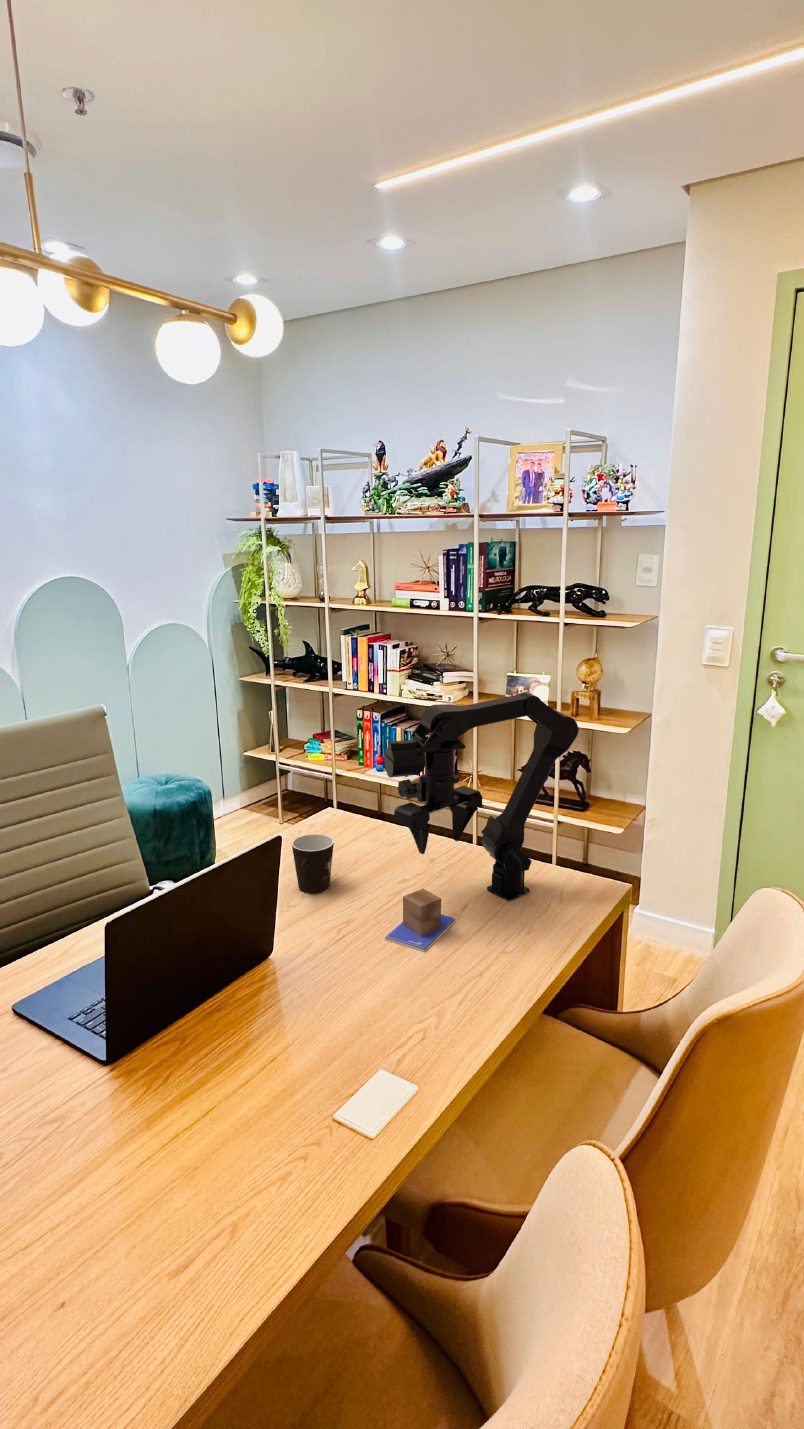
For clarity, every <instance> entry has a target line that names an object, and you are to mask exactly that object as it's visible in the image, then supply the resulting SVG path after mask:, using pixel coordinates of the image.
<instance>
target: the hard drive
mask: <svg viewBox="0 0 804 1429" xmlns="http://www.w3.org/2000/svg"><path fill="white" fill-rule="evenodd" d="M455 922H456V919H455V918H454V917H451V916H448V915H446V914H445V915H444V914H442V913H441V928H439V929H437V930H434V931H432V932H430V933H428V934H425V935H423V936H421V937H420V936H419V935H417V934H415V933H414V932H412V931H411V930H409V929H407V928H406V927H404V926H403V921H402V922H401V923H399V924H398V925H397V926H396V927H395V928H394V929H393V930H392V931H390V932H389V933H388V934H387V935H385V937H384V941H386V942H389V943H393V944H396V945H399V946H402V947H405V948H409V949H411V950H415V951H419V952H422V953H425V952H426V951H427V950H428V949H429V948H430V947H431V946H432V945H433V944H435V942H436V941H437V940H438V939H440V937H441V936H442V935H443V934H444V933H445V932H446V931H447V930H448V929H450V927H451V926H452V925H453V924H454V923H455Z"/></svg>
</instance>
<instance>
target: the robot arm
mask: <svg viewBox="0 0 804 1429" xmlns="http://www.w3.org/2000/svg"><path fill="white" fill-rule="evenodd" d="M523 717H524V718H525V717H528V718H529V720H530V721H532V722H533V723H535V724H536V726H535V729H534V732H533V747H532V748H533V749H532V751H531V754H530V756H529V757H528V759H527V762H526V764H525V766H524V769H523V770H522V771H521V774H520V777H519V779H518V781H517V783H516V784H515V787H514V789H513V790H512V793H511V795H510V797H509V799H508V801H507V803H506V805H505V808H504V810H503V812H501V813H500V814H499V815H497V816H496V817H494V816H492V815H490V816H488V819H487V821H486V825H485V827H484V828H483V829H482V830H481V831H480V832H481V834H482V837H481V844H482V847H483V849H485V850H486V852H487V853H488V854H489V856H490V857H491V858H493V859H494V861H495V862H494V864H493V865H492V872H491V885H488V886H487V887H486V890H487V891H488V892H491V893H492V894H495V895H496V896H499V897H501V898H503V899H505V900H507V901H512V900H515V899H516V898H519V897H521V896H523V895H525V894H528V893H529V892H530V891H531V890H530V888H529V887H527V886H525V874H526V873H525V871H526V872H527V871H529V870H530V866H532V865H531V864H532V862H533V860H531V858H529V857H528V856H527V855H526V854H525V853H524V852H523V851H522V849H523V845H524V842H525V829H526V828H525V824H526V822H527V820H528V818H529V816H530V814H531V812H532V809H533V808H534V805H535V804H536V802H537V799H538V797H539V794H540V793H541V790H542V789H543V786H544V784H545V782H546V781H547V778H548V777H549V775H550V773H551V770H552V768H553V766H554V764H555V762H556V761H557V760H558V758H560V757H561V756H562V755H564V754H565V753H566V752H567V751H568V750H569V749H570V747H571V746H572V745H573V743H574V741H575V740H576V739H577V737H578V735H579V732H580V728H579V726H578V722H577V721H576V720H575V718H573V717H572V716H569V715H567V714H565V713H563V712H561V711H558V710H557V709H554V708H552V707H551V706H549V705H547V704H546V703H545V702H543V701H542V700H541V698H540V697H539V696H537V695H534V694H532V693H530V692H527V691H522V692H521V693H518V694H515V695H514V694H513V695H509V696H504V697H501V698H495V699H490V700H485V701H482V702H481V701H480V702H476V703H471V704H462V705H461V704H460V705H459V704H448V703H447V704H446V703H445V704H444V703H443V704H442V703H441V704H432V705H428V706H427V707H426V708H425V709H424V711H423V713H422V714H421V720H420V722H419V723H418V724H417V726H416V727H415V729H414V730H413V732H412V734H410V736H409V738H410V739H408V740H389V741H388V742H387V748H385V749H386V750H385V754H384V755H383V756H384V767H385V772H386V774H387V777H388V778H390V779H391V778H400V777H409V776H416V775H417V776H418V775H419V778H418V779H417V780H413V781H411V779H408V778H407V779H404V780H400V781H398V784H397V785H398V786H397V790H398V795H399V797H401V798H404V797H405V798H406V799H405V800H407V801H408V800H411V799H416V798H417V801H418V802H420V803H424V804H423V805H418V804H416V803H413V802H408V803H405V804H401V805H398V806H397V807H396V808H395V809H394V810H393V812H394V813H393V814H394V815H393V817H394V818H393V820H394V821H395V822H396V823H399V824H401V825H404V826H405V827H407V828H408V829H409V831H410V833H411V836H412V837H413V840H414V842H415V844H416V848H417V850H418V853H419V854H421V855H424V854H425V852H426V850H427V846H428V841H429V834H430V829H431V824H429V821H430V819H431V818H430V815H432V814H434V813H437V812H441V811H443V810H446V809H448V808H449V810H450V811H451V817H452V818H451V821H452V823H451V824H452V825H451V826H452V838H453V841H455V842H459V840H460V839H461V837H462V835H463V833H464V831H465V829H466V827H467V825H468V824H469V822H470V820H471V819H472V817H473V816H474V814H475V813H476V812H477V811H479V810H478V808H479V807H481V806H483V794H481V792H480V790H477V789H476V788H475V789H474V788H472V787H469V786H467V785H460V786H458V787H455V784H458V783H460V777H459V776H456V775H455V770H456V769H455V767H456V766H455V762H456V758H455V756H456V755H455V754H456V752H455V750H465V749H466V746H467V745H466V744H464V743H463V742H462V741H461V740H460V739H459V737H461V736H464V734H466V733H467V732H469V731H471V730H472V729H474V728H478V727H482V726H487V725H492V724H495V723H500V722H501V723H502V722H505V721H510V720H514V719H520V718H523ZM428 734H429V736H427V735H428ZM423 772H424V774H421V775H420V773H423Z"/></svg>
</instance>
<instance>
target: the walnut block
mask: <svg viewBox="0 0 804 1429" xmlns="http://www.w3.org/2000/svg"><path fill="white" fill-rule="evenodd" d="M441 914H442V897H439V896H438V895H436V894H435V893H432V892H430V891H429V890H427V889H425V888H422V889H418V890H416V891H413V892H411V893H409V894H406V895H404V896H402V922H403V926H404V927H406V928H407V929H409V930H411V931H412V932H414V933H415V934H417V935H419V936H420V937H421V936H423V935H425V934H428V933H430V932H432V931H434V930H437V929H439V928H441Z"/></svg>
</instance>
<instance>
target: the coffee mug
mask: <svg viewBox="0 0 804 1429" xmlns="http://www.w3.org/2000/svg"><path fill="white" fill-rule="evenodd" d="M334 843H335V840H334V838H333V837H331V836H329V835H326V834H320V833H310V834H304V835H300V836H298V837H296V838H294V839H293V840H292V841H291V849H292V855H293V862H294V868H295V873H296V878H297V885H298V890H299V891H300V892H302V893H304V894H306V895H307V894H308V895H318V894H322V893H324V891H325V892H327V891H328V890H329V888H330V884H331V875H332V874H331V873H332V864H333V854H334V845H335V844H334Z"/></svg>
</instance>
